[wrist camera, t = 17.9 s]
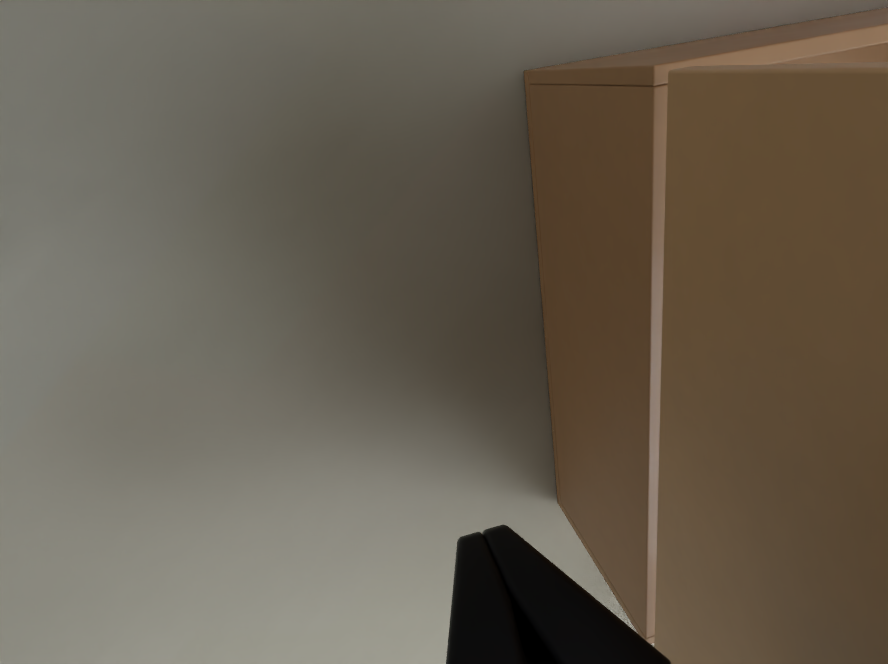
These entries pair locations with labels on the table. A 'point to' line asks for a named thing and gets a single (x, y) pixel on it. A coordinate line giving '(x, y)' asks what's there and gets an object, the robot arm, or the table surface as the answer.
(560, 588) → the robot arm
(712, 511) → the flap
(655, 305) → the carton
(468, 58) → the table surface
